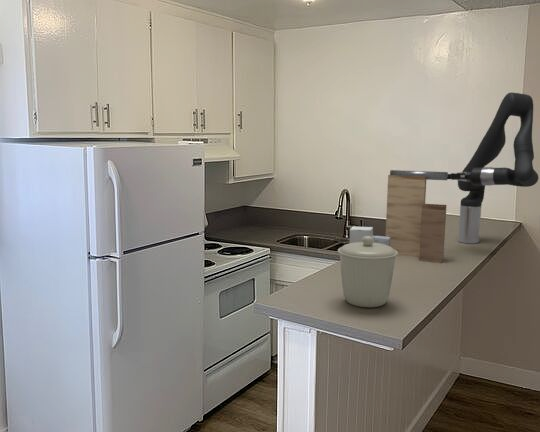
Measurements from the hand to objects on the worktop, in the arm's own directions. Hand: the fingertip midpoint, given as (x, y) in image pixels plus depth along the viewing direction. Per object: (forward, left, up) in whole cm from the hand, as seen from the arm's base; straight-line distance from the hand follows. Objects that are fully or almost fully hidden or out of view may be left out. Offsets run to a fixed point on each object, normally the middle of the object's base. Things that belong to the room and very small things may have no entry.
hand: (447, 177), depth 242 cm
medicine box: (+26, -24, -32) cm, 48 cm away
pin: (+14, -11, 0) cm, 18 cm away
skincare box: (+45, -28, -32) cm, 62 cm away
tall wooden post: (+22, -3, -32) cm, 39 cm away
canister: (+87, -18, -32) cm, 94 cm away
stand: (+14, -15, -32) cm, 38 cm away
